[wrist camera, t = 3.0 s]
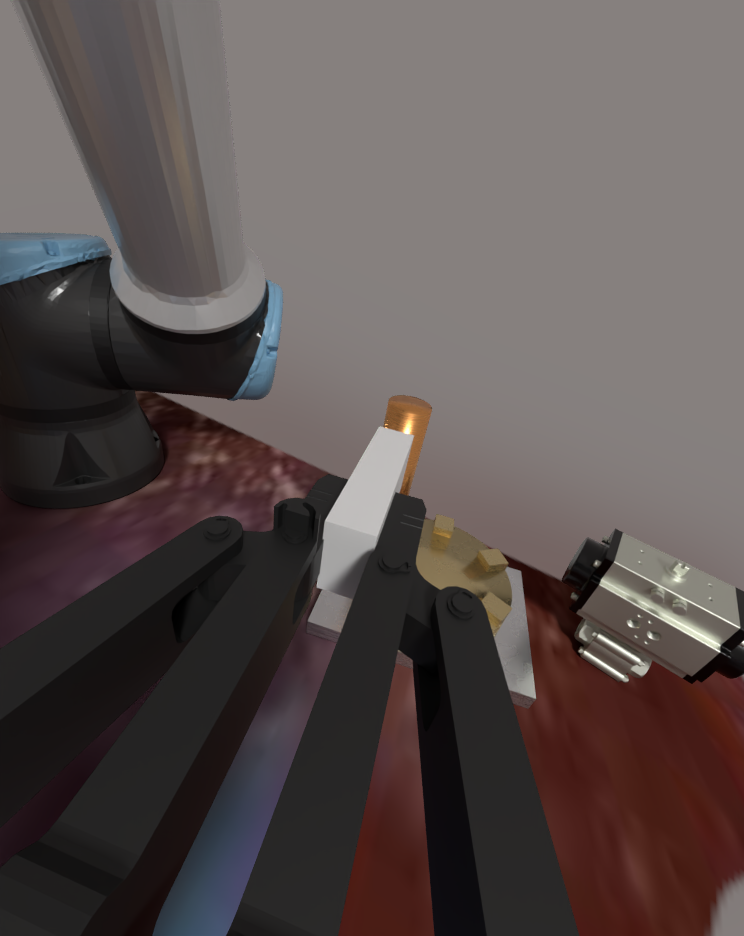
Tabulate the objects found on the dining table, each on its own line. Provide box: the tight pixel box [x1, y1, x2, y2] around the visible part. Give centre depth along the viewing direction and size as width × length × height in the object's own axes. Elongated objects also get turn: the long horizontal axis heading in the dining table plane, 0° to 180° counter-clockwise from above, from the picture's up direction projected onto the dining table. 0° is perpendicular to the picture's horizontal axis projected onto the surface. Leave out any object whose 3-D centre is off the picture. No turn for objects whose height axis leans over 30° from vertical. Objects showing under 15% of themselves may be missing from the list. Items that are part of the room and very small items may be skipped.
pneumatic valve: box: [562, 529, 744, 684], centre depth 30 cm, size 6×12×12 cm, turn 52°
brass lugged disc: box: [383, 395, 512, 637], centre depth 30 cm, size 14×13×17 cm
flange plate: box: [306, 567, 536, 708], centre depth 35 cm, size 18×13×2 cm
